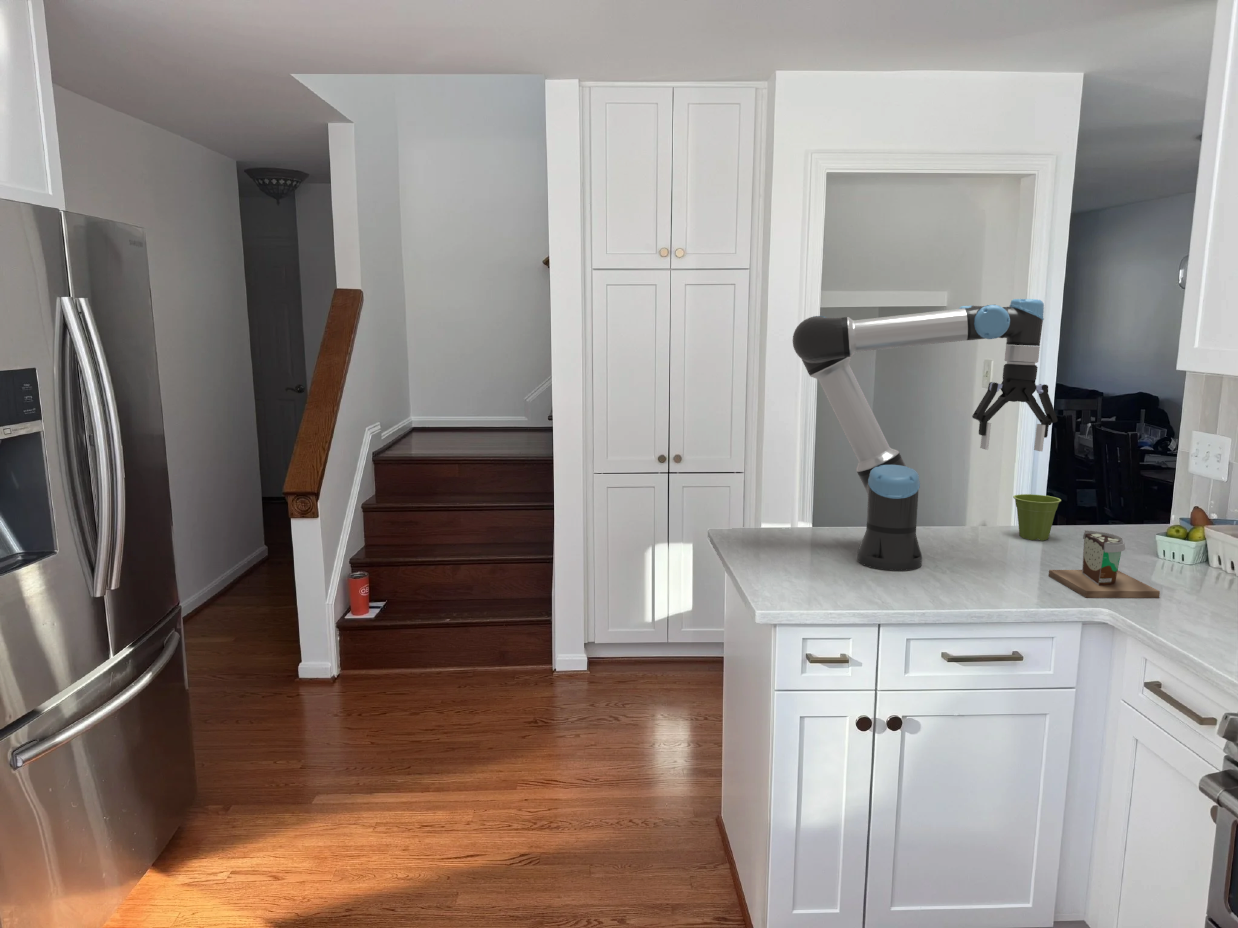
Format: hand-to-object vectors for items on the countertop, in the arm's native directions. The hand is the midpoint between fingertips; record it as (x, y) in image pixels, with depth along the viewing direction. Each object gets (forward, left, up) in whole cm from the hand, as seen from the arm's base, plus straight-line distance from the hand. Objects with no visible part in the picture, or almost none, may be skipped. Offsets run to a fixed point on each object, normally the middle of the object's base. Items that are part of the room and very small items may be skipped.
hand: (1011, 449), depth 213 cm
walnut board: (+12, -24, -28) cm, 38 cm away
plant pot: (+18, +20, -28) cm, 38 cm away
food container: (+12, -24, -26) cm, 38 cm away
